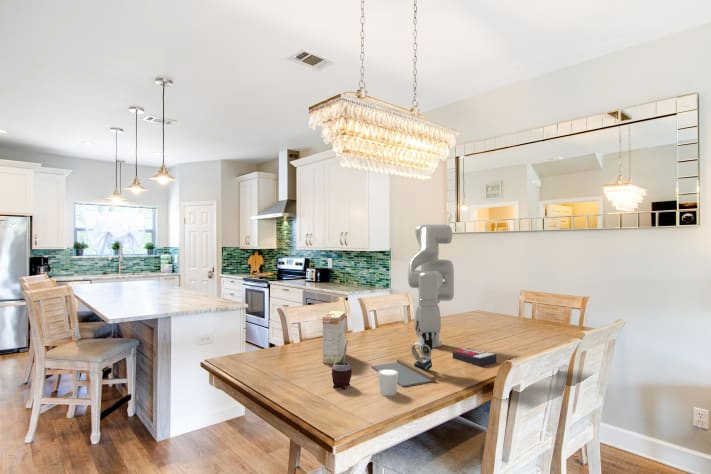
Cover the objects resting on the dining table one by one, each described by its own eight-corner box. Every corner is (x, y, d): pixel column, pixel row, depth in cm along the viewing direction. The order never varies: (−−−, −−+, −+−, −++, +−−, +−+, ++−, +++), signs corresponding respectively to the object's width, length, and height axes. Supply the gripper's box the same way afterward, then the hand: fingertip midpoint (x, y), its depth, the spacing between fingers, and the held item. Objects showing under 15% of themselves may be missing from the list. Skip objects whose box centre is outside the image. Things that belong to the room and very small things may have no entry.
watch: (428, 374, 150) (423, 348, 148) (411, 369, 156) (406, 344, 154) (436, 367, 154) (431, 342, 152) (420, 362, 159) (415, 338, 157)
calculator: (468, 346, 178) (496, 352, 166) (468, 356, 178) (497, 363, 166) (452, 350, 172) (480, 356, 160) (452, 360, 172) (480, 367, 159)
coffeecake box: (331, 353, 179) (331, 310, 179) (346, 354, 177) (346, 311, 178) (321, 362, 164) (321, 316, 165) (338, 364, 163) (338, 317, 163)
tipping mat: (371, 367, 158) (371, 363, 158) (400, 363, 164) (400, 358, 164) (402, 387, 137) (402, 382, 137) (435, 381, 142) (435, 376, 142)
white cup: (400, 390, 134) (400, 369, 134) (395, 397, 127) (395, 376, 127) (381, 387, 136) (381, 367, 136) (375, 395, 130) (375, 373, 130)
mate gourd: (335, 391, 132) (336, 347, 133) (328, 383, 140) (328, 342, 140) (355, 388, 135) (356, 345, 136) (347, 381, 143) (347, 340, 143)
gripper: (437, 301, 163) (437, 345, 162) (407, 303, 156) (407, 349, 156) (449, 303, 156) (449, 349, 155) (418, 305, 149) (418, 353, 149)
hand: (428, 349), depth 156 cm, fingers closed
